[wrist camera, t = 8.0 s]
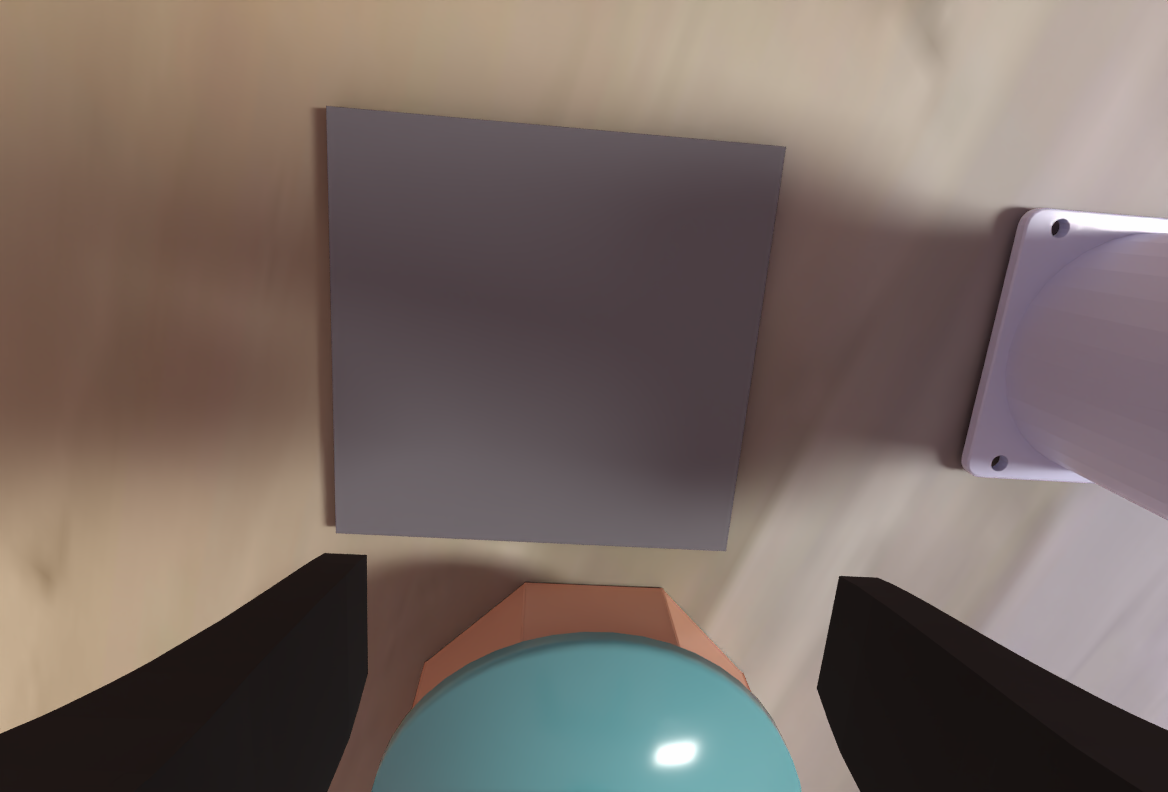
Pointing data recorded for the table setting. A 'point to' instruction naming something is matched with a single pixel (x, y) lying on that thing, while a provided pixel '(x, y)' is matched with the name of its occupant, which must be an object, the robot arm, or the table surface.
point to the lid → (588, 724)
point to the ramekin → (573, 625)
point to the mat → (542, 328)
